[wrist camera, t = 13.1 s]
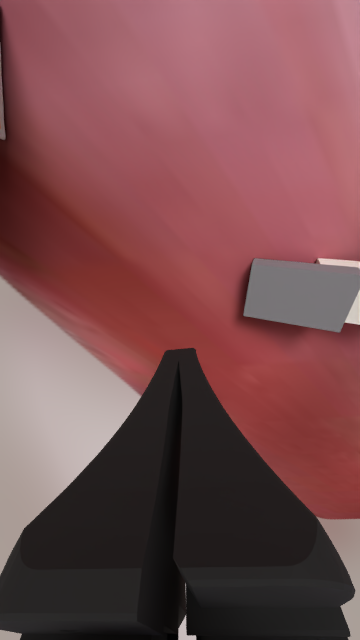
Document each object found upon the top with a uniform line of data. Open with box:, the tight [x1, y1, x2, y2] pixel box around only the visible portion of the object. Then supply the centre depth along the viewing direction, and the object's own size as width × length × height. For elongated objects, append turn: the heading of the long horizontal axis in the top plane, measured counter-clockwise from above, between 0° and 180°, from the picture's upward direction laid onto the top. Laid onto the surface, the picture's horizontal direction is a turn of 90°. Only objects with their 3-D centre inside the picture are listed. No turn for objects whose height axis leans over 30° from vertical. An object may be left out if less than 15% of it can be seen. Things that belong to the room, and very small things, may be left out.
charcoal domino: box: [243, 258, 360, 333], centre depth 16 cm, size 2×4×7 cm
